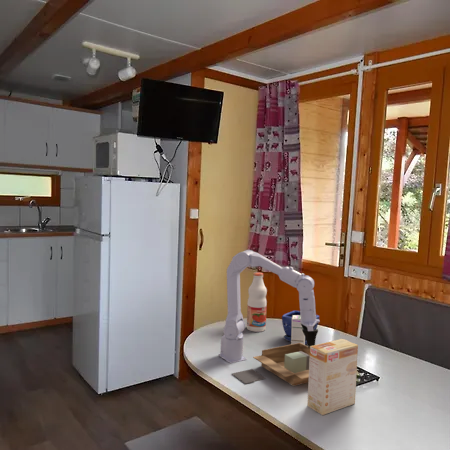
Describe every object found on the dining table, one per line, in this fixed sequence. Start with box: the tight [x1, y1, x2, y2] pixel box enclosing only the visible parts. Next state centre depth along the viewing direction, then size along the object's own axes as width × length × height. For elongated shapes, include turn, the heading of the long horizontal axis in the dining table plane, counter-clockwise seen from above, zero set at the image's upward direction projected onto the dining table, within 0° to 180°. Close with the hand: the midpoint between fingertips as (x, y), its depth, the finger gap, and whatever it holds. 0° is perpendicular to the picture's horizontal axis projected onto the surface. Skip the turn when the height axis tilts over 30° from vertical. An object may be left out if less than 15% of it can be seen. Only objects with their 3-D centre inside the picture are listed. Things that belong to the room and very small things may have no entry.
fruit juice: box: [246, 271, 268, 333], centre depth 207 cm, size 9×9×28 cm
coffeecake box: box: [307, 338, 359, 416], centre depth 133 cm, size 15×7×20 cm, turn 123°
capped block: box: [284, 351, 310, 373], centre depth 159 cm, size 5×8×6 cm, turn 121°
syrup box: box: [290, 315, 306, 345], centre depth 181 cm, size 6×6×14 cm
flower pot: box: [281, 310, 320, 345], centre depth 193 cm, size 13×13×12 cm
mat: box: [231, 368, 267, 385], centre depth 153 cm, size 9×9×1 cm
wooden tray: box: [253, 343, 310, 387], centre depth 156 cm, size 23×23×6 cm
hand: (310, 344), depth 158 cm, fingers open, 7 cm apart
